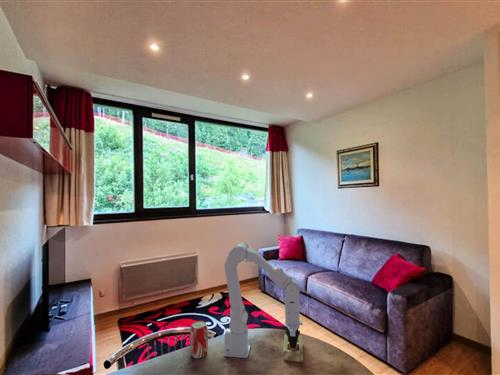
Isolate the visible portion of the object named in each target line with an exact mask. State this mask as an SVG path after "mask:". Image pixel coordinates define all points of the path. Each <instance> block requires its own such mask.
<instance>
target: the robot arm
mask: <svg viewBox="0 0 500 375" xmlns="http://www.w3.org/2000/svg"><path fill="white" fill-rule="evenodd" d="M243 261H245V262H246V263H249V262H250V263H251V262H252V263H254V264H255V265H257V266H258V267H259V268H260V269H261V270H263V271H264V272H266V273H267V274H268V278H269V279H270V280H271V281H272V282H273V283H274V284H275V285H277V286H278V287H279V288H280V289H282V290H283V292H284V296H285V297H284V314H285V315H284V316H285V318H284V325H285V326H286V328H285V330H284V331H285V335H287V336H288V339H289V344H290V348H296V345H297V339H298V336H300V335H301V330H300V326H303V325H304V324H303V320H301V319H300V318H301V317H300V288H299V283H298V281H297V280H296V278H295V277H292V275H288V274H287V273H286V272H284V269H283V268H282V267H278V266H273V265H272V264H271V263H270V262H268V260H266V259H265V258H264V257H263V256H262V255H261V254H259V253H258V252H257V251H256V249H254V248H253V247H251V246H249V245H248V244H247V243H246V242H239V243H238V244H236V245H235V246H234V247H233V248H231V250H230V251H229V252H228V256H227V258H226V260H225V262H224V272H225V278H226V279H225V280H226V284H227V292H228V298H229V305H230V315H229V320H230V321H229V326H228V327H229V328H228V327H227V328H226V329H225V333H224V355H223V356H224V357H231V358H242V359H243V358H244V359H248V356H249V353H250V349H251V345H250V344H249V327H248V325H247V321H248V319H249V313H248V311H246V307H245V305H244V303H243V298H242V290H241V285H240V278H239V274H238V266H239V264H241V262H243Z"/></svg>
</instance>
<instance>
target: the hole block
mask: <svg viewBox="0 0 500 375" xmlns="http://www.w3.org/2000/svg"><path fill="white" fill-rule="evenodd" d="M283 336H284V337H283V361H287V362H300V363H301V362H302V363H304V349H303V348H304V346H303V345H304V344H303V335H299V336H298V339H297V351H296V350H289V339H288V336H287V334H286V333H285V334H284V335H283Z"/></svg>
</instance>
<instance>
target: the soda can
mask: <svg viewBox="0 0 500 375" xmlns="http://www.w3.org/2000/svg"><path fill="white" fill-rule="evenodd" d="M208 330H209V329H208V326H207V322H206V321H203V320H197V321H195V322H193V323H192V324H191V328H190V330H189V332H190V335H189V338H190V340H189V342H190V343H189V344H190V345H189V350H190V356H191V357H192V358H195V359H201V358H204V357H205V356H206V355H207V354H208V350H209V341H208V340H209V334H208Z"/></svg>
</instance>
